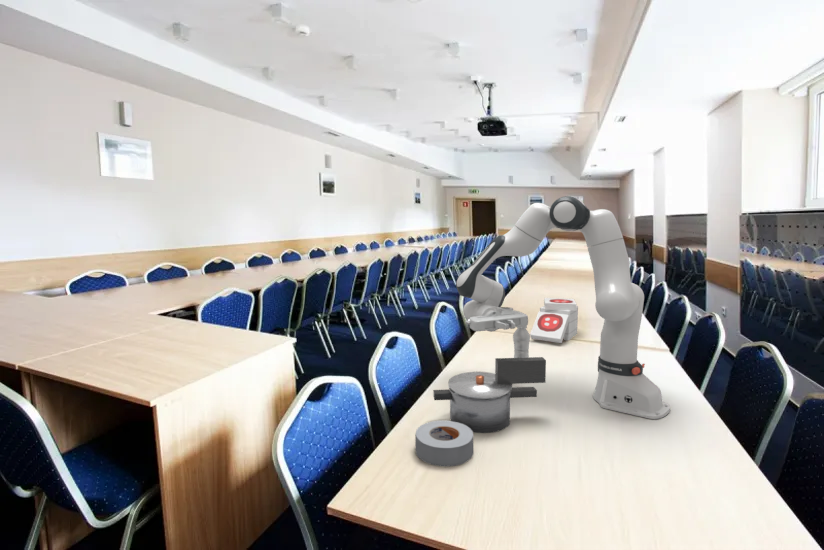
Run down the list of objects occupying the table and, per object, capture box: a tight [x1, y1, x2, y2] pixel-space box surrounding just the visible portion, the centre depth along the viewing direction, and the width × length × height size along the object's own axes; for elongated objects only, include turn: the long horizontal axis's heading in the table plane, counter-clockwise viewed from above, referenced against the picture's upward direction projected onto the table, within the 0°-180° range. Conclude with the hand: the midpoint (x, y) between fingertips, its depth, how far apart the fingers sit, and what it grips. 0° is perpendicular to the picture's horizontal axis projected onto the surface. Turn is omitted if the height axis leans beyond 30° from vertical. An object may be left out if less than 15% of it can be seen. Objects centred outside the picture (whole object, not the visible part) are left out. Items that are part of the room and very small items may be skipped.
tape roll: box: [414, 419, 474, 467], centre depth 115 cm, size 15×15×5 cm
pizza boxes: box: [529, 297, 579, 344], centre depth 219 cm, size 19×30×18 cm, turn 144°
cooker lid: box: [448, 356, 547, 400], centre depth 131 cm, size 29×19×8 cm, turn 92°
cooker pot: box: [432, 386, 538, 434], centre depth 132 cm, size 31×18×10 cm, turn 92°
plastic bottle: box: [512, 325, 531, 358], centre depth 170 cm, size 6×7×20 cm
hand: (510, 326), depth 140 cm, fingers closed
